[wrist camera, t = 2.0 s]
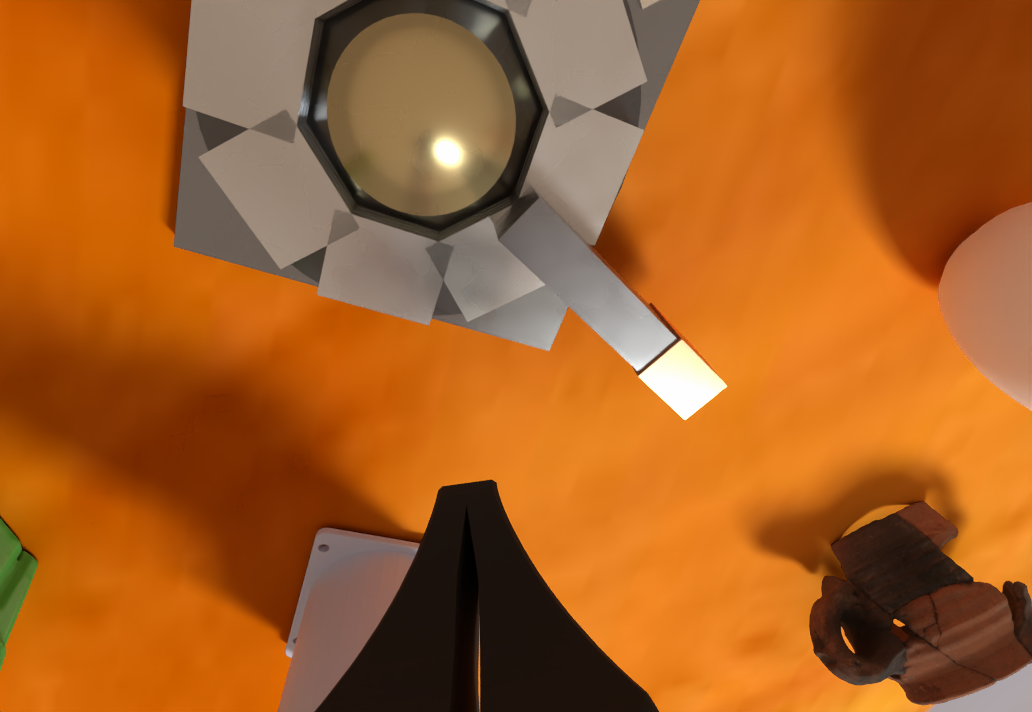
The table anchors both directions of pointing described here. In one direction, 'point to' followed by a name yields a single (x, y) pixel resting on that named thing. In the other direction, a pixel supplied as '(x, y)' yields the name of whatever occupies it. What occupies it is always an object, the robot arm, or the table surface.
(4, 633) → the fruit basket
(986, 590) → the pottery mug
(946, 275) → the air blower bulb
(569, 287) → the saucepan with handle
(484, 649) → the robot arm
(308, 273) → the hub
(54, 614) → the table surface
